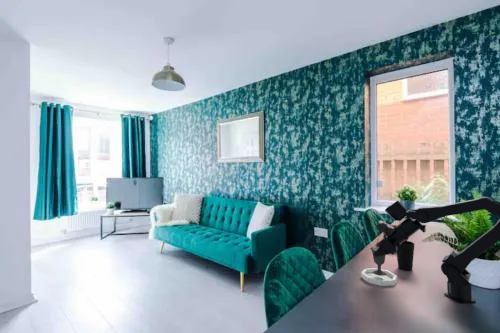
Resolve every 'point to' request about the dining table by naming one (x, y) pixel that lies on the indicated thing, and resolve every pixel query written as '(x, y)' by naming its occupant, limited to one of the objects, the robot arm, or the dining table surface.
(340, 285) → the dining table surface
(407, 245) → the cup
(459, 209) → the robot arm
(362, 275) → the dish
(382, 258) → the sundae
